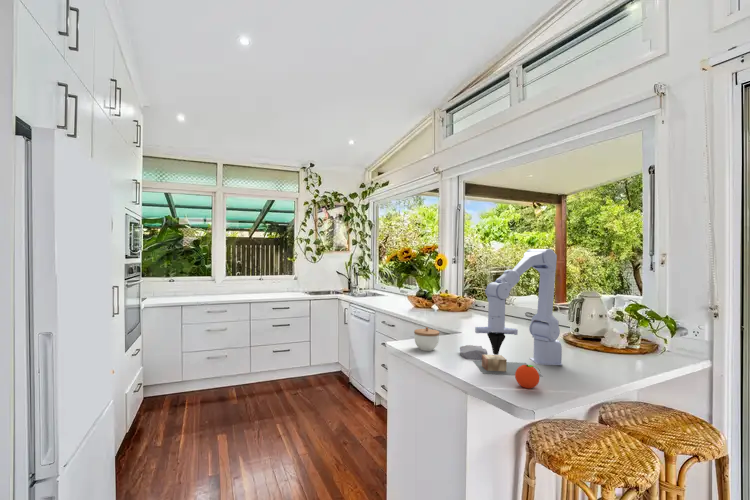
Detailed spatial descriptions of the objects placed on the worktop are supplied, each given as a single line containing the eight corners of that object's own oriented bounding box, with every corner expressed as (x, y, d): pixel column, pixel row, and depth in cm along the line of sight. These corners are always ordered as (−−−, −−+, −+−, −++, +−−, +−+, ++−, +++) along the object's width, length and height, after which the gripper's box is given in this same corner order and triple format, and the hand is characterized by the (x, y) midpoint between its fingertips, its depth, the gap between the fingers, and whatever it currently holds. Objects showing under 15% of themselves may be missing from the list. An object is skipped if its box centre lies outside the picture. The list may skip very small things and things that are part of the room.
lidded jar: (429, 345, 164) (430, 324, 164) (444, 351, 154) (444, 328, 154) (409, 347, 159) (409, 325, 159) (422, 353, 149) (423, 330, 150)
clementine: (533, 383, 117) (534, 361, 117) (547, 391, 110) (547, 367, 110) (510, 384, 115) (511, 361, 115) (522, 392, 108) (523, 368, 109)
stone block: (464, 364, 142) (490, 360, 142) (462, 352, 142) (488, 348, 142) (458, 357, 154) (481, 353, 154) (456, 346, 154) (479, 342, 154)
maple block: (501, 355, 134) (482, 354, 134) (506, 359, 128) (486, 358, 128) (501, 366, 134) (481, 365, 134) (506, 371, 128) (486, 370, 128)
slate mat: (525, 363, 139) (525, 362, 139) (543, 377, 123) (543, 376, 123) (472, 361, 140) (472, 360, 140) (483, 374, 124) (483, 373, 124)
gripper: (513, 315, 135) (512, 351, 135) (473, 313, 135) (472, 350, 135) (520, 318, 128) (519, 357, 127) (478, 316, 128) (477, 355, 128)
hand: (495, 354), depth 131 cm, fingers closed
